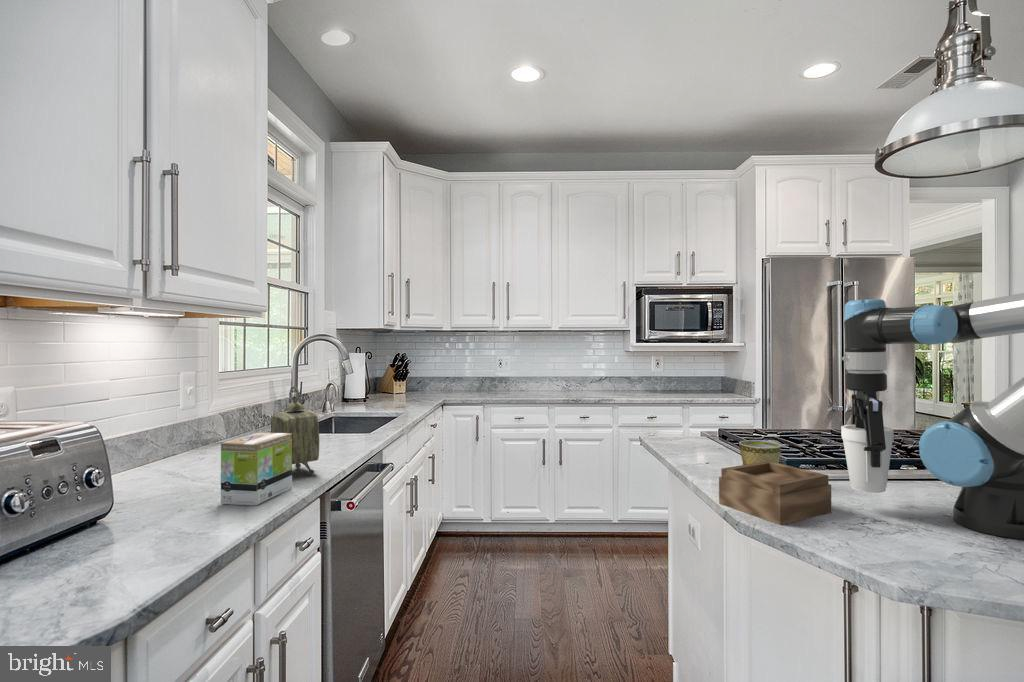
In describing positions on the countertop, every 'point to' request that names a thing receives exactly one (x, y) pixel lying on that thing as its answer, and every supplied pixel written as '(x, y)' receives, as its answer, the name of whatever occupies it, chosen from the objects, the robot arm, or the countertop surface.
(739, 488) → the wooden box
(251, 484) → the tea box
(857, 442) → the foam cup
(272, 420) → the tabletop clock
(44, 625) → the countertop surface
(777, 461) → the ceramic cup
